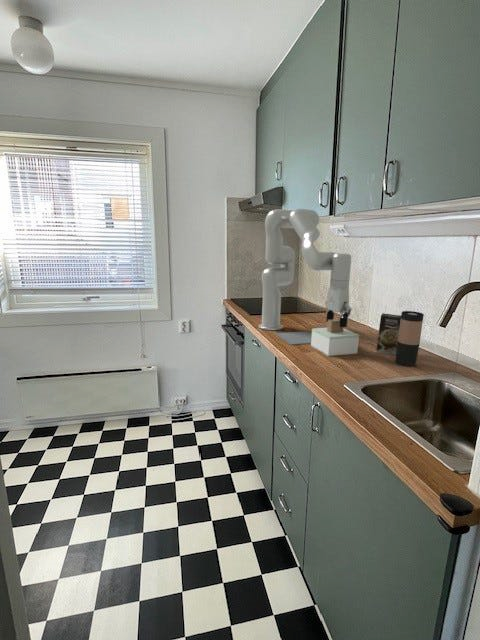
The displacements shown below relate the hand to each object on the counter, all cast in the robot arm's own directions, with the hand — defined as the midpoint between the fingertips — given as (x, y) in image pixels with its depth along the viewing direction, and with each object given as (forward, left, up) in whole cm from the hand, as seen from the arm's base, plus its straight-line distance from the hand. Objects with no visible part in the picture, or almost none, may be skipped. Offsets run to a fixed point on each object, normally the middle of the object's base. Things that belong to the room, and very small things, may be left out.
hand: (336, 324), depth 145 cm
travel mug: (+22, +18, -12) cm, 30 cm away
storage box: (0, 0, -11) cm, 11 cm away
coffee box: (+9, +21, -12) cm, 25 cm away
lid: (0, 0, -4) cm, 4 cm away
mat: (-19, -6, -11) cm, 23 cm away
